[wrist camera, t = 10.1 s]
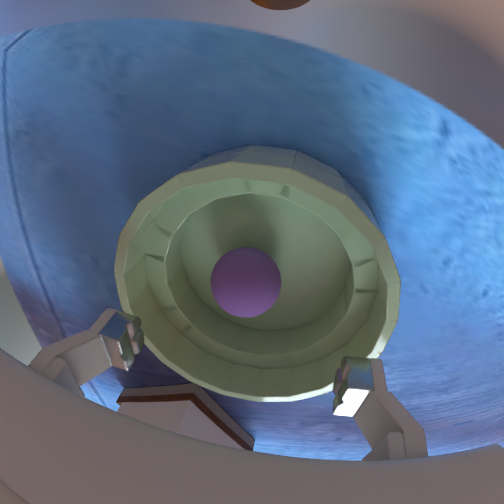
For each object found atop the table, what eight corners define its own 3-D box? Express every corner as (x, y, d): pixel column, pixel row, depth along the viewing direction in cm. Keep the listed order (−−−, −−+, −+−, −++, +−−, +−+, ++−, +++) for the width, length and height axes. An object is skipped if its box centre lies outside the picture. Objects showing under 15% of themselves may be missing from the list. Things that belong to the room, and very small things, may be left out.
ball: (237, 229, 16) (195, 254, 14) (297, 248, 15) (264, 280, 12) (233, 283, 18) (196, 313, 15) (287, 304, 17) (256, 342, 14)
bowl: (155, 137, 15) (99, 155, 10) (403, 169, 13) (443, 199, 9) (166, 323, 21) (138, 371, 17) (344, 355, 19) (347, 413, 15)
